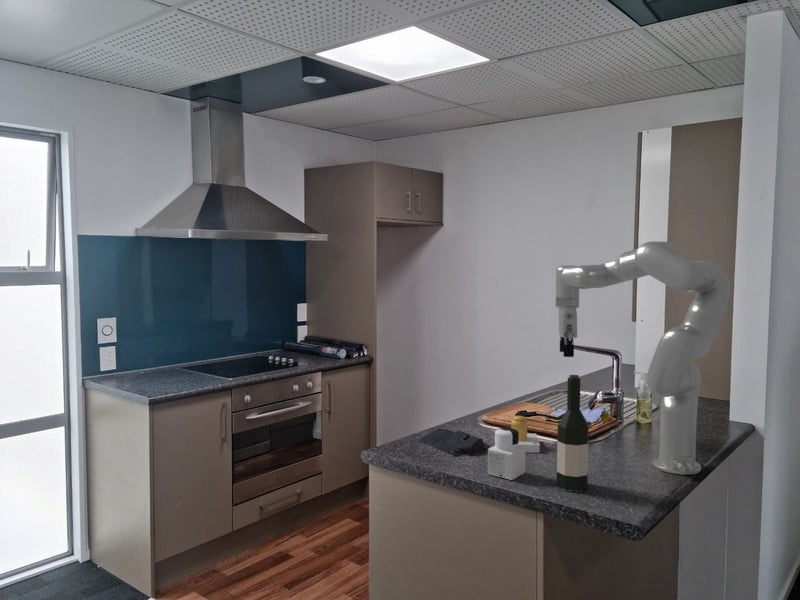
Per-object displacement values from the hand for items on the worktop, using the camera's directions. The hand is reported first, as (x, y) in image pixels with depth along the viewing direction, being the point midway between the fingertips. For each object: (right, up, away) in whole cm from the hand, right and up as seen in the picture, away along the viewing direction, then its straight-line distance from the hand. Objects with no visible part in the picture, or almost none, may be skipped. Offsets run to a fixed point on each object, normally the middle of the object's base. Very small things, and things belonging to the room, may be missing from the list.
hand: (566, 354), depth 207 cm
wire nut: (-17, -27, -7) cm, 32 cm away
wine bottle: (-9, -32, -41) cm, 53 cm away
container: (-25, -31, -32) cm, 51 cm away
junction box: (-17, -29, -3) cm, 33 cm away
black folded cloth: (-38, -30, -5) cm, 48 cm away
